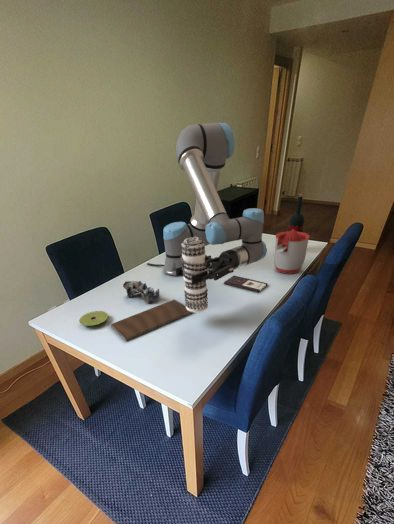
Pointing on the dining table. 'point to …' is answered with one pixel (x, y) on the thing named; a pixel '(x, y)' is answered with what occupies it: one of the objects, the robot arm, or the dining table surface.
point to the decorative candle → (194, 273)
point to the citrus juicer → (290, 251)
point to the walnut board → (150, 319)
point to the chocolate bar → (245, 283)
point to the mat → (93, 318)
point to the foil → (140, 290)
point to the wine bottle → (297, 217)
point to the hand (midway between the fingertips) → (184, 276)
